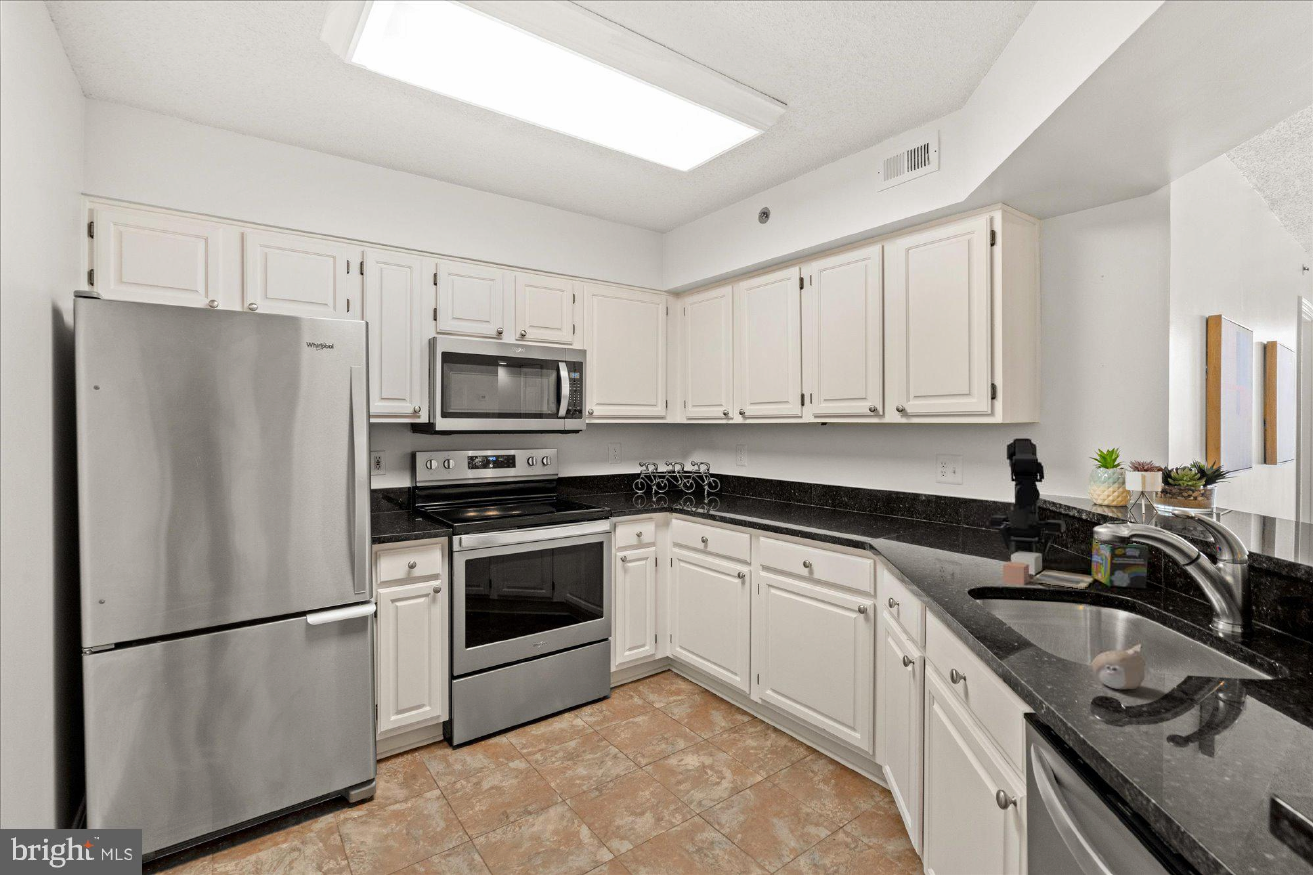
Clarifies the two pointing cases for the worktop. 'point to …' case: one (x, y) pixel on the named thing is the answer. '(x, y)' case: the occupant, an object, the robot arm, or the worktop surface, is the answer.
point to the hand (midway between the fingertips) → (1026, 552)
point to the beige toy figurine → (1120, 668)
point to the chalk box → (1120, 565)
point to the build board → (1063, 579)
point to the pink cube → (1016, 573)
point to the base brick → (1029, 560)
